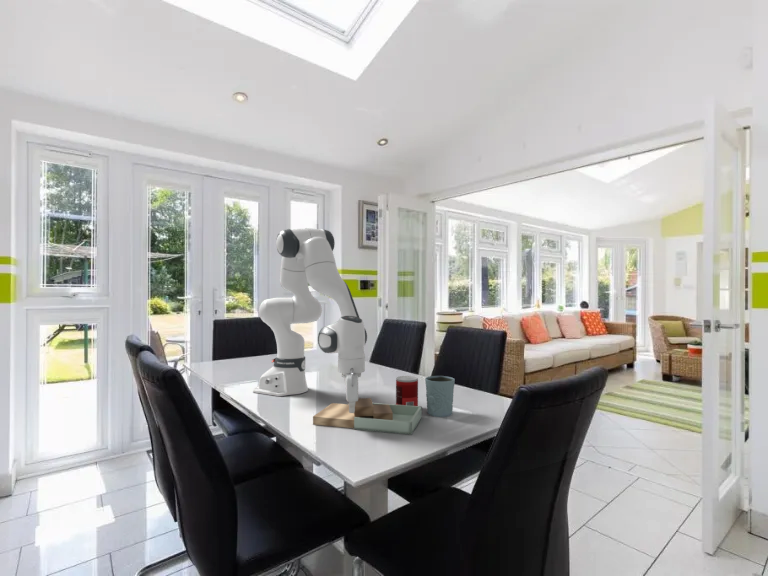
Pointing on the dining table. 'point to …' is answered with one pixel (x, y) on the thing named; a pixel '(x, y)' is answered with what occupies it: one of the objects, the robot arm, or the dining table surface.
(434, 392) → the teal plant pot
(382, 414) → the tile
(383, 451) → the dining table surface
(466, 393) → the dining table surface
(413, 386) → the canned food
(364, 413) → the tile
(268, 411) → the dining table surface
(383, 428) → the tray
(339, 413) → the board
